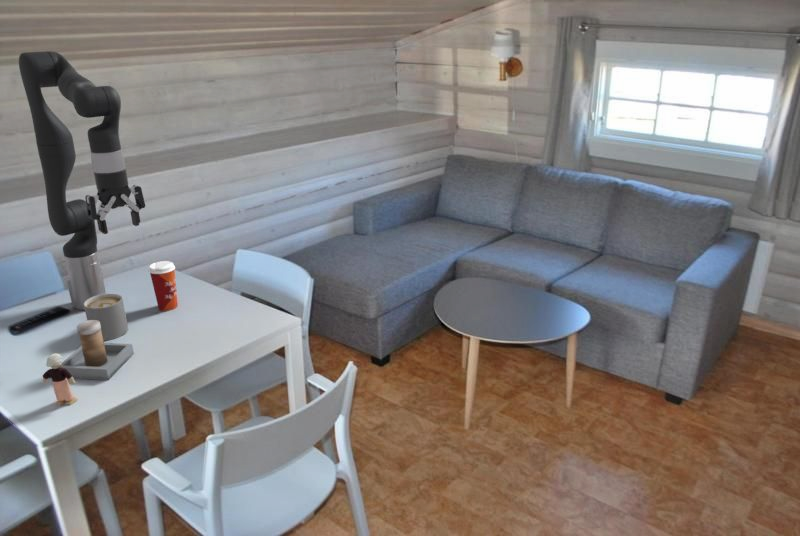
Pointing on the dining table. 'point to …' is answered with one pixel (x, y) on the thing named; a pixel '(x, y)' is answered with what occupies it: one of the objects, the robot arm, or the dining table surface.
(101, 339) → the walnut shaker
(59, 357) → the grandmother figurine
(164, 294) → the paper cup
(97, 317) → the coffee mug
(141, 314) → the dining table surface
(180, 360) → the dining table surface
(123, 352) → the stoneware tray
